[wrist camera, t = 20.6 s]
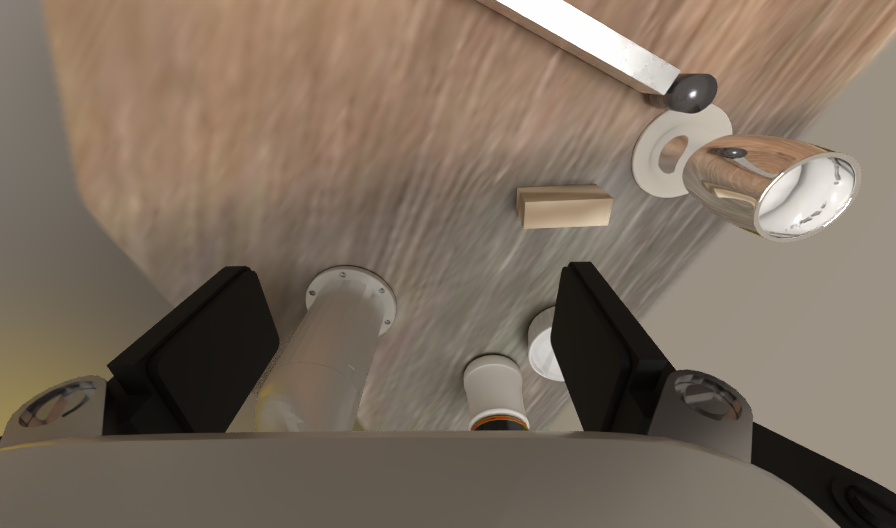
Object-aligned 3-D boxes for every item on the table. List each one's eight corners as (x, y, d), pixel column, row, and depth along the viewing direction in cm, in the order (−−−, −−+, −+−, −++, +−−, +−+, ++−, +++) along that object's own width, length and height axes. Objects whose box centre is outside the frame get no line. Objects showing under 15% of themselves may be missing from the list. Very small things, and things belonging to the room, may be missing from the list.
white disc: (709, 194, 39) (712, 195, 38) (622, 197, 39) (624, 199, 38) (743, 99, 34) (747, 99, 33) (643, 104, 34) (646, 104, 33)
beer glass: (647, 194, 38) (748, 257, 25) (642, 135, 35) (754, 172, 22) (713, 172, 37) (855, 226, 24) (713, 108, 34) (877, 131, 21)
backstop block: (590, 208, 40) (607, 225, 35) (515, 211, 40) (523, 228, 36) (595, 184, 38) (613, 198, 34) (517, 187, 39) (525, 202, 34)
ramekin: (510, 313, 48) (517, 339, 44) (587, 286, 46) (602, 310, 41) (535, 363, 53) (543, 390, 48) (605, 341, 51) (620, 367, 46)
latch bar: (666, 113, 33) (698, 119, 29) (408, -30, 28) (400, -49, 23) (688, 82, 32) (725, 83, 27) (421, -75, 26) (415, -104, 22)
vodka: (529, 379, 55) (598, 655, 29) (479, 398, 57) (503, 667, 31) (504, 343, 51) (558, 626, 25) (452, 365, 53) (453, 643, 27)
